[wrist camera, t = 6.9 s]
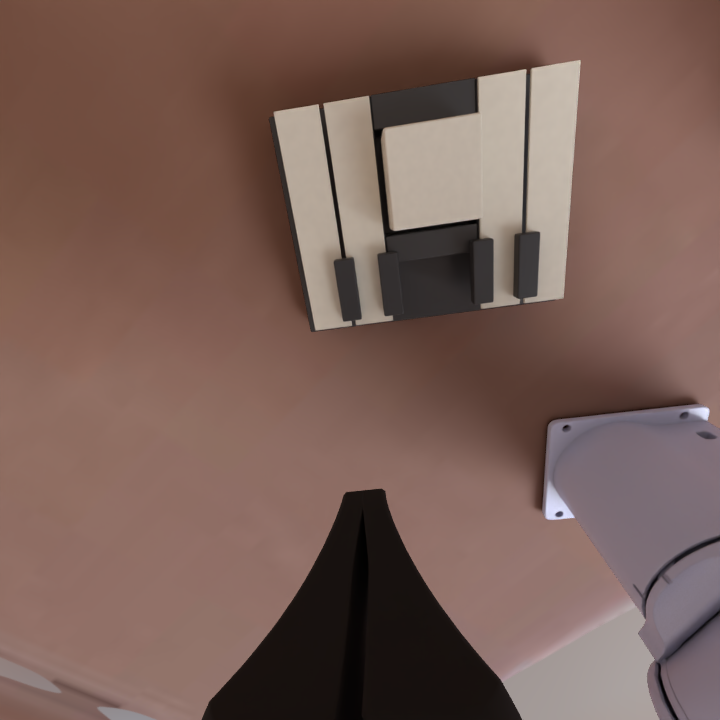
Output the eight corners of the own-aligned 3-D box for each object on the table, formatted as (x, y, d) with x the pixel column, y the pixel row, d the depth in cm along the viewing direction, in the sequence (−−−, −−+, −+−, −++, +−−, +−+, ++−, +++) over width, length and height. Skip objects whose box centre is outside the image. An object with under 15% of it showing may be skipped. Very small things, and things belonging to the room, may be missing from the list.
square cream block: (380, 138, 15) (382, 127, 13) (467, 124, 15) (482, 111, 13) (389, 229, 16) (392, 231, 14) (469, 217, 16) (483, 218, 14)
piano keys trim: (274, 112, 14) (269, 107, 14) (578, 61, 14) (590, 53, 13) (315, 329, 18) (313, 334, 17) (561, 297, 17) (570, 301, 16)
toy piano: (275, 123, 17) (257, 106, 14) (556, 76, 16) (595, 48, 14) (313, 325, 21) (306, 342, 18) (544, 295, 20) (574, 308, 17)
